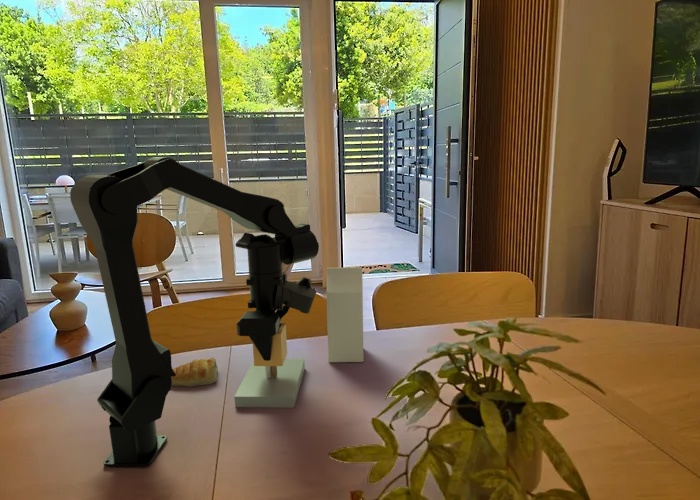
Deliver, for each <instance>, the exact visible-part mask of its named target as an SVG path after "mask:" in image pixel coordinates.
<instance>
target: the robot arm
mask: <svg viewBox="0 0 700 500" xmlns="http://www.w3.org/2000/svg"><path fill="white" fill-rule="evenodd" d="M165 190H168V191H170V192H172V193H175V194H178V195H180V196H183V197H185V198H188V199H190V200H193V201H196V202H198V203H201V204H203V205H206V206H207V207H211V208H213V209H215V210H218V211H220V212H223V213H225V214H226V215H227V216H228V217H229V218H231V220H233V221H234V222H236V224H238V225H240V226H241V227H243V228H245V229H247V230H251V231H258V232H260V233H265V234H259V235H254V234H253V233H250V232H244V233H243V235H242V236H241V238H239V239H238V240H237V241H236V243H235V244H234V245H235V247H236V248H240V249H243V250H244V249H245V250H247V261H248V262H247V263H248V277H247V278H246V280H245V282H246V286H249V291H250V293H249V294H250V299H249V301H248V302H247V309H255V310H247V311H246V312H245V313H244V314H243V315H242V316H241V317H240V319H239V320H238V321H237V322H236V330H237V331H236V332H237V334H236V335H237V336H240V337H249V338H250V340H251V342H252V344H253V343H254V345H255V346H256V348H257V349H258V351H259V353H260V354H261V356H262V358H263V359H264V360H265V361H269V360H270V359H271V353H272V345H273V336H274V335H276V334H277V332H278V331H279V329H280V327H281V325H282V324H280V323H282V318H284V317H285V316H286V315H287V314H288V312H289V310H290V309H295V310H297V311H299V312H300V313H302V314H307V315H308V314H310V311H311V308H312V305H313V303H314V300H315V297H316V295H317V290H316V287H313V284H312V280H311V278H308V277H306V276H304V277H302V278H301V279H300V280H299V281H298V282H297V281H295V280H294V281H293V282H292V281H289V280H288V279H287V277H288V275H287V273H286V272H285V271H283V264H284V265H287V266H289V265H292V264H296V263H301V262H306V261H309V260H313V259H315V258H316V257H317V255H318V254H319V248H320V245H319V244H320V243H319V242H318V239H317V237H316V235H315V233H313V232H312V230H311V225H310V224H307V223H299V224H296V225H295V224H294V223H293V222H292V220H291V219H290V217H289V215H288V214H287V213H286V210H285V205H284V203H283V202H282V201H281V200H279V199H277V198H273V197H269V196H265V195H260V194H254V193H249V192H244V191H240V189H239V190H238V189H236V188H234V187H233V186H230V185H227V184H226V183H223V182H221V181H218V180H216V179H214V178H212V177H209V176H207V175H205V174H203V173H202V172H198V171H197V170H194V169H192V168H189V167H187V166H185V165H183V164H180V163H179V162H178V161H176V159H173V158H171V157H168V156H167V157H159V156H158V157H150V158H148V159H146V161H143V162H140V163H138V164H135V165H132V166H129V167H125V168H123V169H120V170H116V171H113V172H109V173H108V174H106V175H102V174H89V175H84V176H82V177H81V178H80V179H78V180H76V182H75V183H74V184H73V186H72V187H71V188H70V194H69V195H70V197H69V198H70V202H71V205H72V208H73V210H74V212H75V214H76V217H77V219H78V221H79V224H80V225H81V227H82V228H83V231H84V233H86V235H87V237H88V238H89V240H90V241H91V243H92V245H93V247H94V251H95V254H96V258H97V265H98V268H99V273H100V277H101V282H102V286H103V291H104V296H105V300H106V304H107V309H108V313H109V317H110V322H111V325H112V326H111V327H112V330H113V335H114V340H115V347H114V351H113V355H112V358H111V377H112V378H111V379H110V381H109V383H108V384H107V386H106V387H105V388H104V389H103V391H102V392H101V394H100V395H99V396H98V397H97V399H96V400H97V403H98V404H99V406H100V407H101V409H102V410H103V411H105V412H106V413H107V414H108V415H109V419H108V420H109V425H108V429H109V435H110V442H111V443H110V444H111V450H112V451H111V452H110V454H109V455H107V457H106V459H104V461H103V466H104V467H119V468H120V467H122V468H123V467H124V468H125V467H126V468H129V467H132V468H134V467H135V468H136V467H137V468H146V467H149V466H150V465H151V464H152V462H153V461H154V459H155V458H156V456H157V455H158V454H159V452H160V450H162V447H164V445H165V443H166V442H167V440H168V436H167V435H158V433H157V424H156V421H158V420H159V419H161V418H162V416H163V411H164V406H165V401H166V398H167V396H168V394H169V392H171V391H172V387H173V385H172V377H171V376H176V374H175V372H174V371H173V369H174V368H173V366H172V355H171V350H170V349H168V347H165V346H163V345H162V344H160V343H158V342H157V341H155V340H154V339H153V338H152V333H151V330H150V324H149V318H148V315H147V308H146V304H145V299H144V294H143V289H142V285H141V284H142V283H141V279H140V274H139V270H138V269H139V268H138V264H137V259H136V254H135V250H134V249H135V248H134V237H135V233H136V229H137V226H138V220H139V219H138V218H139V217H138V206H140V205H143V204H145V203H147V202H149V201H151V200H152V199H154V198H155V197H157V196H158V195H160V194H161V193H162V192H163V191H165ZM269 234H272V235H274V237H272V236H270V235H269Z"/></svg>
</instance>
